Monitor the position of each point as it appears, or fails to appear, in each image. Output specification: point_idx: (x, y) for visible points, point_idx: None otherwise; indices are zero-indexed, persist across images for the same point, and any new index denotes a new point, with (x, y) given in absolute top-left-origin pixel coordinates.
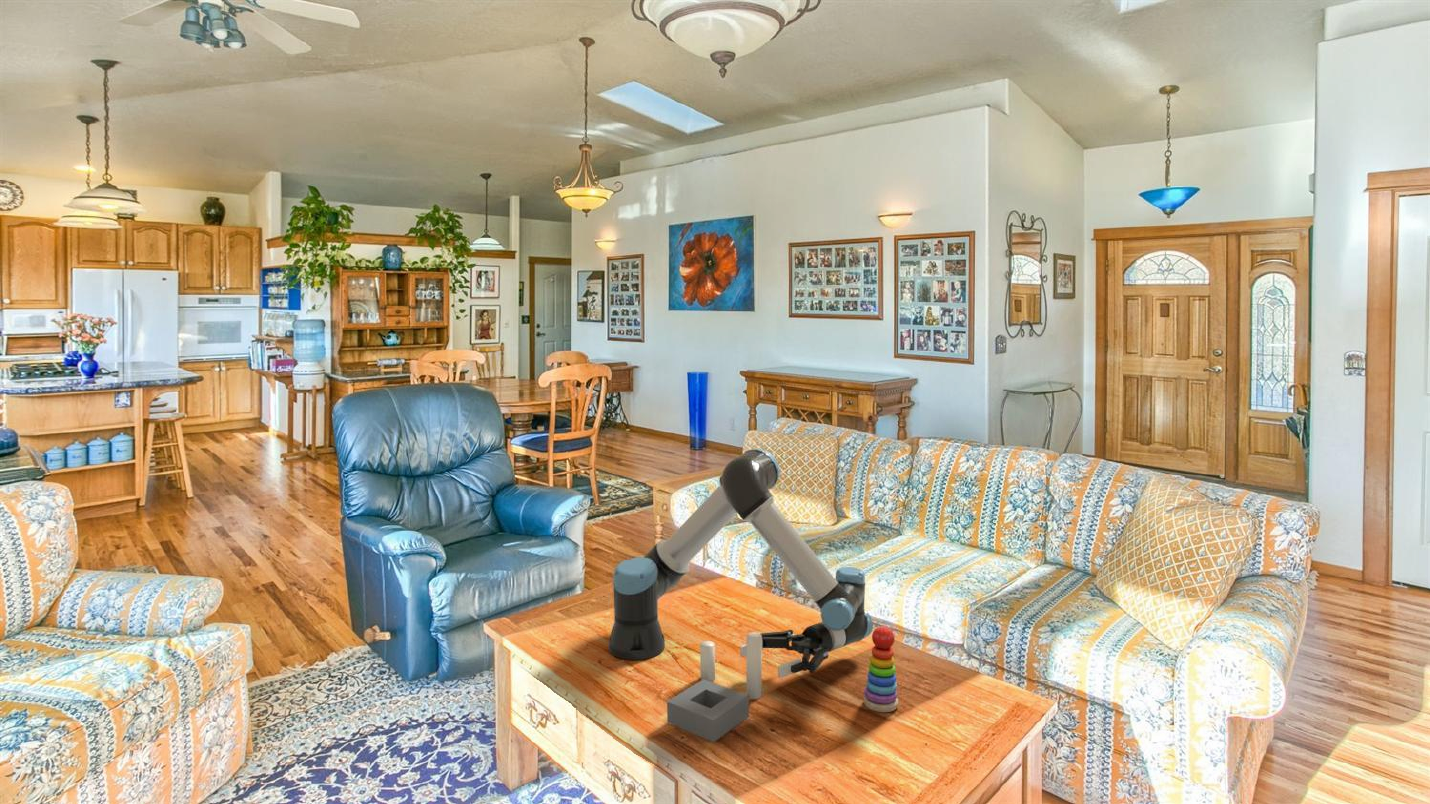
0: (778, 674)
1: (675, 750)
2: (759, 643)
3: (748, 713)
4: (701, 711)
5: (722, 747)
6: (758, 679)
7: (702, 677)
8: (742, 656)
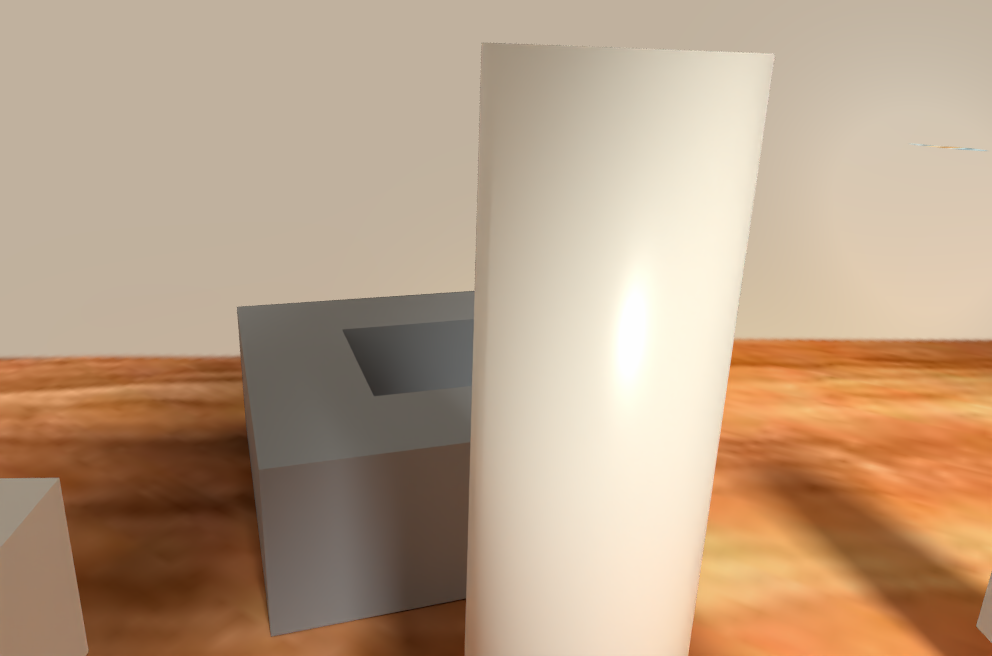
0: (69, 605)
1: None
2: (481, 157)
3: (269, 608)
4: (352, 307)
5: (178, 429)
6: None
7: None
8: (983, 614)
